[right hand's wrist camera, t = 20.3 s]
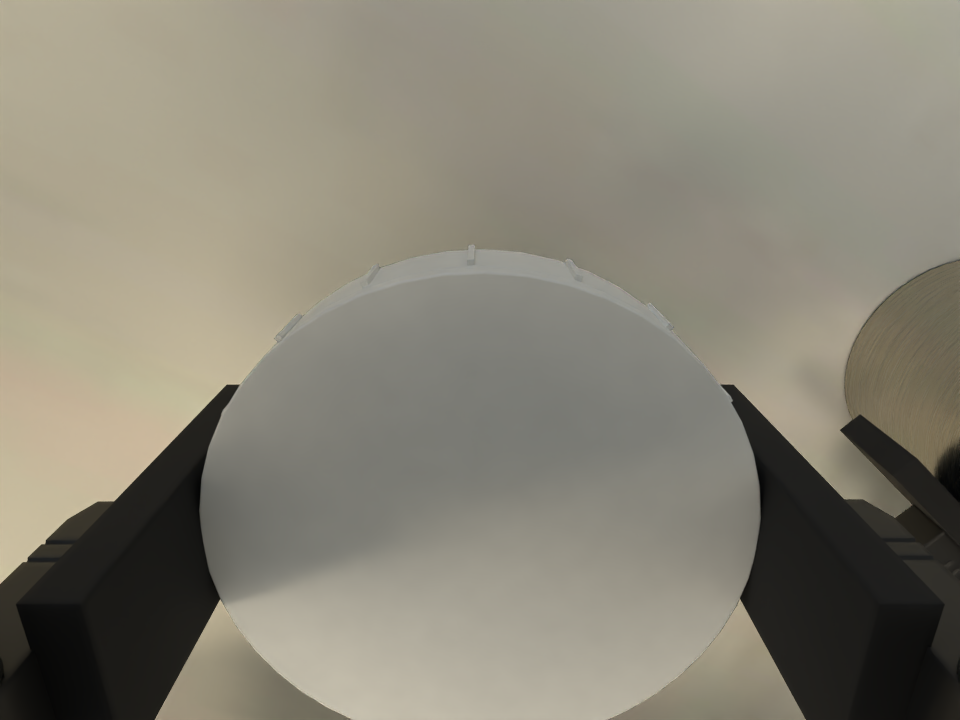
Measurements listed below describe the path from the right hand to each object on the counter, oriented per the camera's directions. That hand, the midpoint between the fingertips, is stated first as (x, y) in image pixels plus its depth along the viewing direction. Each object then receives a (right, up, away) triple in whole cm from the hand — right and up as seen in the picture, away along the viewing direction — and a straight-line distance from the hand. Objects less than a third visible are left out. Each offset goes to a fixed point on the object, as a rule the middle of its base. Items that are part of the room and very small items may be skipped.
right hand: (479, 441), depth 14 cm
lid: (0, -1, -3) cm, 3 cm away
